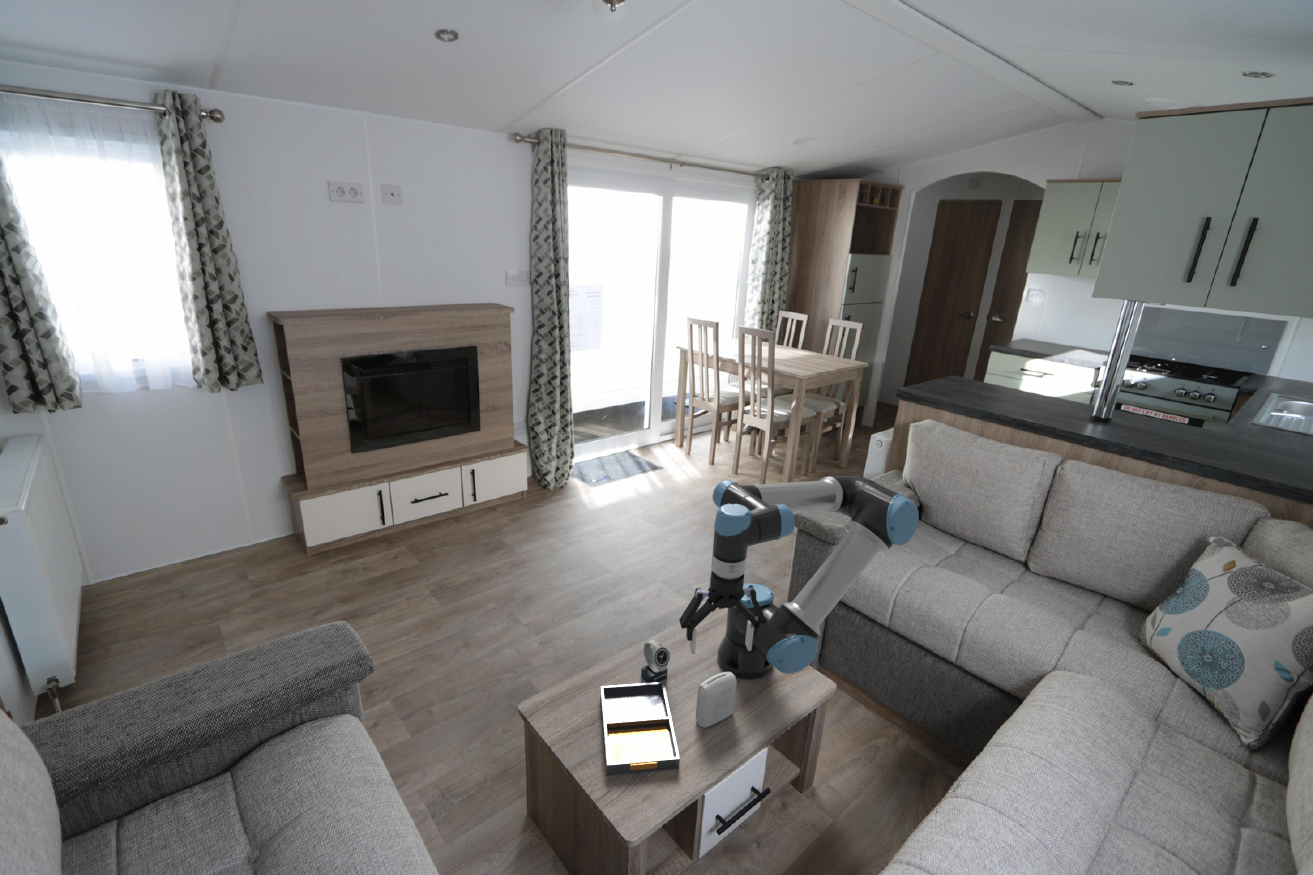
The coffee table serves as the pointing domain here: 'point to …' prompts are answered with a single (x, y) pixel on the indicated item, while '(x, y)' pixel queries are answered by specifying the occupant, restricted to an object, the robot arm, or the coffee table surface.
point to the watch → (655, 662)
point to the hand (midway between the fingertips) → (720, 648)
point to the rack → (638, 729)
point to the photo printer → (716, 699)
